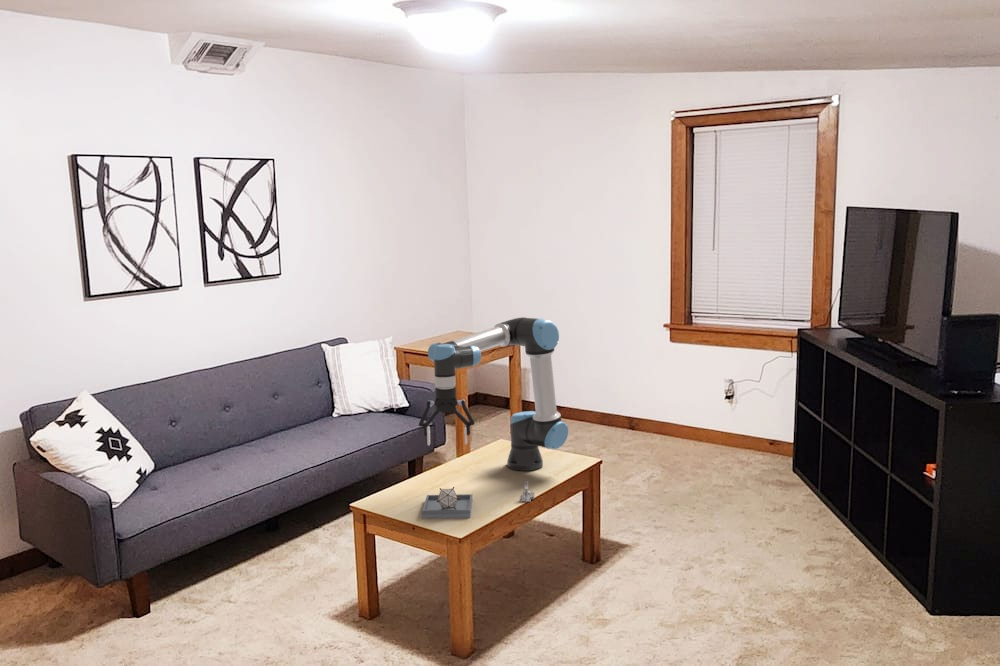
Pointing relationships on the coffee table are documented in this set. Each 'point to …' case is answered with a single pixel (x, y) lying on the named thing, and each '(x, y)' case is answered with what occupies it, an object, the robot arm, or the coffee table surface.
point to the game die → (447, 498)
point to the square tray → (435, 510)
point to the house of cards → (527, 494)
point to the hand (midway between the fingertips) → (447, 444)
